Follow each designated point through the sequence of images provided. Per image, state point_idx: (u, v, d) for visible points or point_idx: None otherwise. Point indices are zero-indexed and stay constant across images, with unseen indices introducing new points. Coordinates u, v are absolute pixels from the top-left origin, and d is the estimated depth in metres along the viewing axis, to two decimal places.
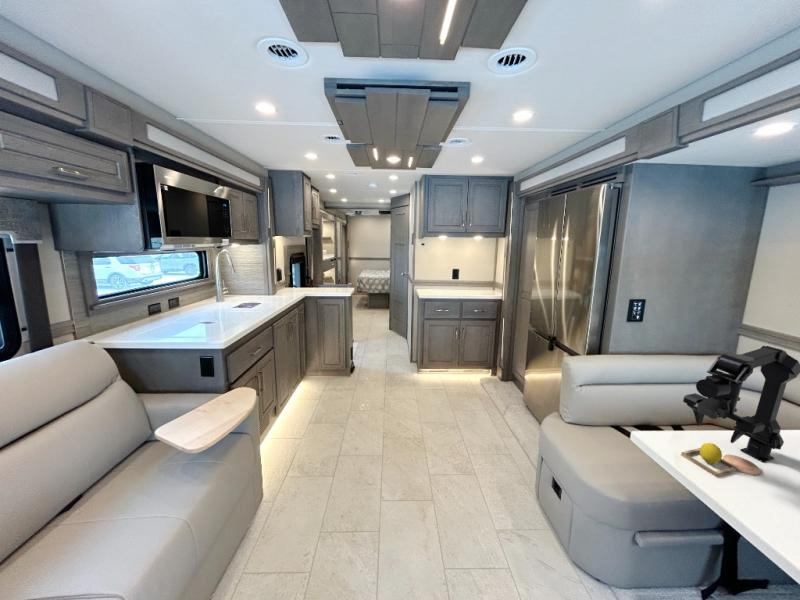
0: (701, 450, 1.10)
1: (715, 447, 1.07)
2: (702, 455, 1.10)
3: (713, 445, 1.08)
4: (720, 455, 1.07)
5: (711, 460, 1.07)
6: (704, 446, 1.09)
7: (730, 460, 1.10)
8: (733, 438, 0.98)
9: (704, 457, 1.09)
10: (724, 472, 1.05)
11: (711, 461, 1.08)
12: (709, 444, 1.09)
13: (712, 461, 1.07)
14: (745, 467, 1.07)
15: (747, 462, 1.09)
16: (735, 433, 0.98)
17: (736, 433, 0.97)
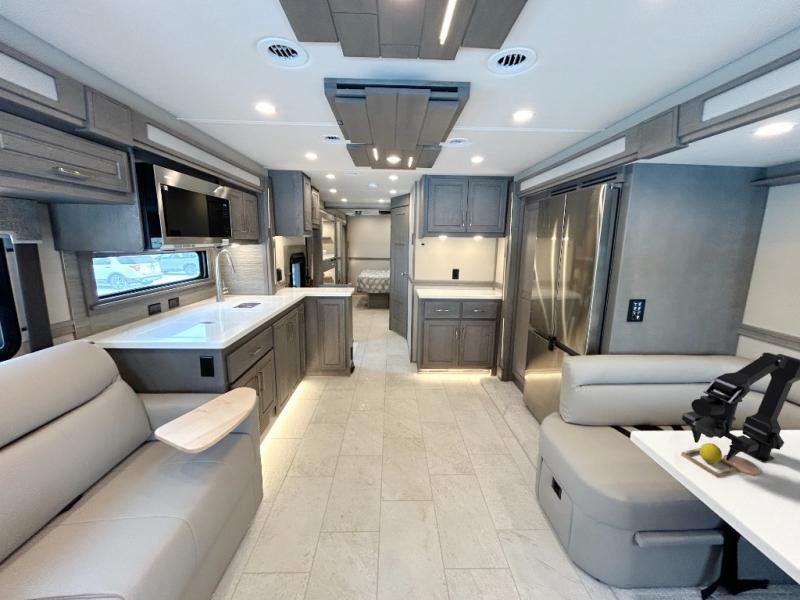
0: (701, 450, 1.10)
1: (715, 447, 1.07)
2: (702, 455, 1.10)
3: (713, 445, 1.08)
4: (720, 455, 1.07)
5: (712, 460, 1.07)
6: (704, 446, 1.09)
7: (730, 460, 1.10)
8: (729, 456, 1.04)
9: (704, 457, 1.09)
10: (724, 472, 1.05)
11: (711, 461, 1.08)
12: (709, 444, 1.09)
13: (712, 461, 1.07)
14: (745, 467, 1.07)
15: (747, 462, 1.09)
16: (731, 451, 1.03)
17: (732, 451, 1.03)
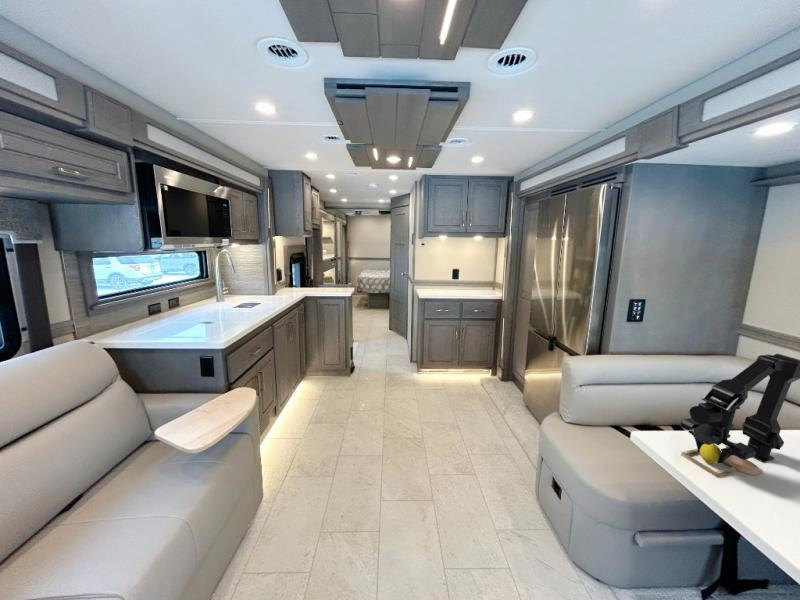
0: (701, 450, 1.10)
1: (715, 447, 1.07)
2: (702, 455, 1.10)
3: (713, 445, 1.08)
4: None
5: (711, 460, 1.07)
6: (704, 446, 1.09)
7: (730, 460, 1.10)
8: (720, 459, 1.06)
9: (704, 457, 1.09)
10: (724, 472, 1.05)
11: (711, 461, 1.08)
12: None
13: (712, 461, 1.07)
14: (745, 467, 1.07)
15: (747, 462, 1.09)
16: (722, 455, 1.05)
17: (723, 455, 1.05)
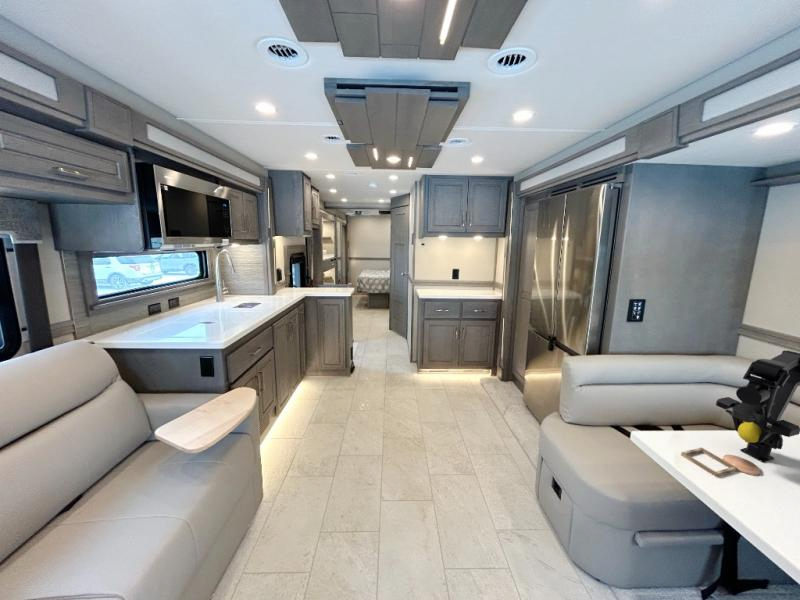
0: (740, 429, 1.07)
1: (755, 426, 1.04)
2: (741, 434, 1.06)
3: (753, 424, 1.05)
4: (760, 434, 1.04)
5: (751, 439, 1.04)
6: (743, 425, 1.06)
7: (730, 460, 1.10)
8: (761, 438, 1.03)
9: (743, 436, 1.06)
10: (724, 472, 1.05)
11: (751, 440, 1.05)
12: (748, 423, 1.06)
13: (752, 440, 1.04)
14: (745, 467, 1.07)
15: (747, 462, 1.09)
16: (763, 433, 1.02)
17: (764, 433, 1.02)
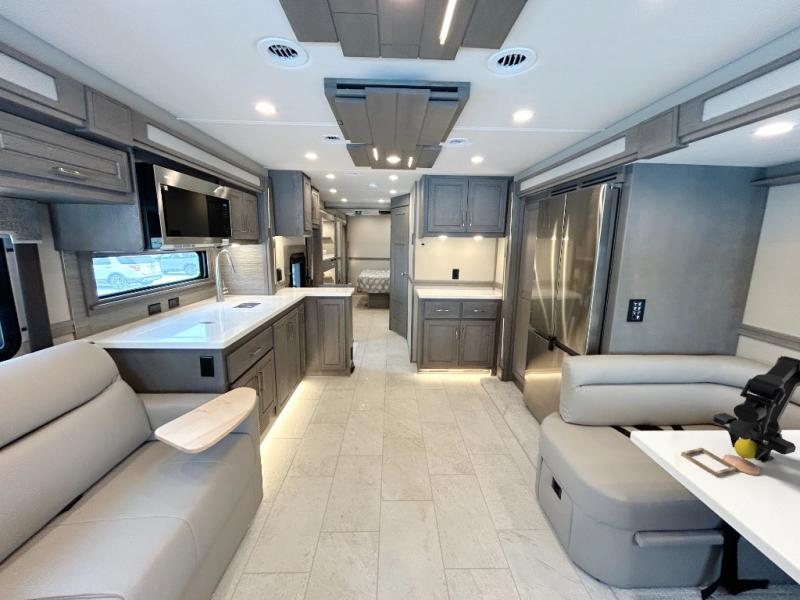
0: (736, 445, 1.08)
1: (751, 442, 1.06)
2: (737, 450, 1.08)
3: (749, 440, 1.06)
4: None
5: (748, 455, 1.06)
6: (739, 441, 1.08)
7: (730, 460, 1.10)
8: (757, 454, 1.04)
9: (740, 452, 1.07)
10: (724, 472, 1.05)
11: (747, 456, 1.06)
12: None
13: (748, 457, 1.06)
14: (745, 467, 1.07)
15: (747, 462, 1.09)
16: (759, 450, 1.03)
17: (760, 450, 1.03)
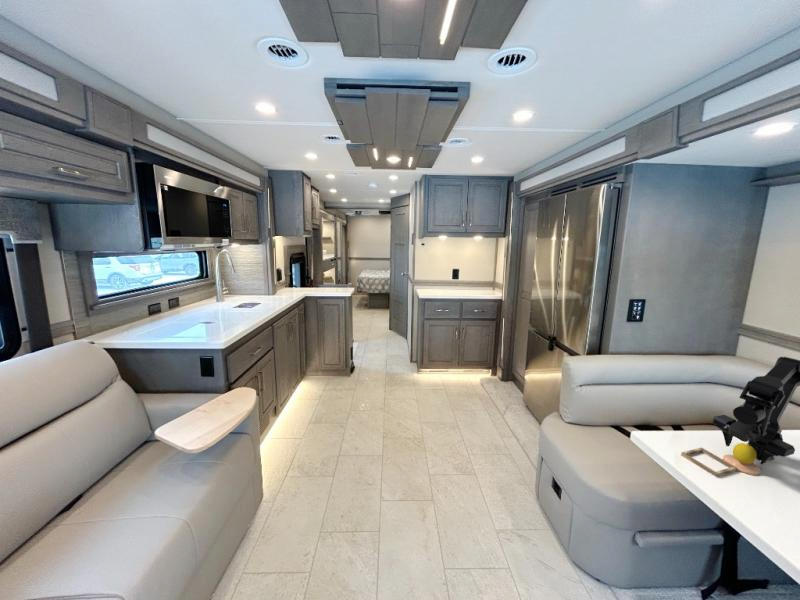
0: (734, 450, 1.09)
1: (749, 447, 1.06)
2: (736, 455, 1.08)
3: (747, 445, 1.07)
4: (755, 455, 1.05)
5: (746, 461, 1.06)
6: (738, 446, 1.08)
7: (730, 460, 1.10)
8: (763, 460, 1.03)
9: (738, 457, 1.08)
10: (724, 472, 1.05)
11: (745, 461, 1.06)
12: (743, 444, 1.08)
13: (746, 462, 1.06)
14: (745, 467, 1.07)
15: None
16: (765, 455, 1.02)
17: (767, 455, 1.02)
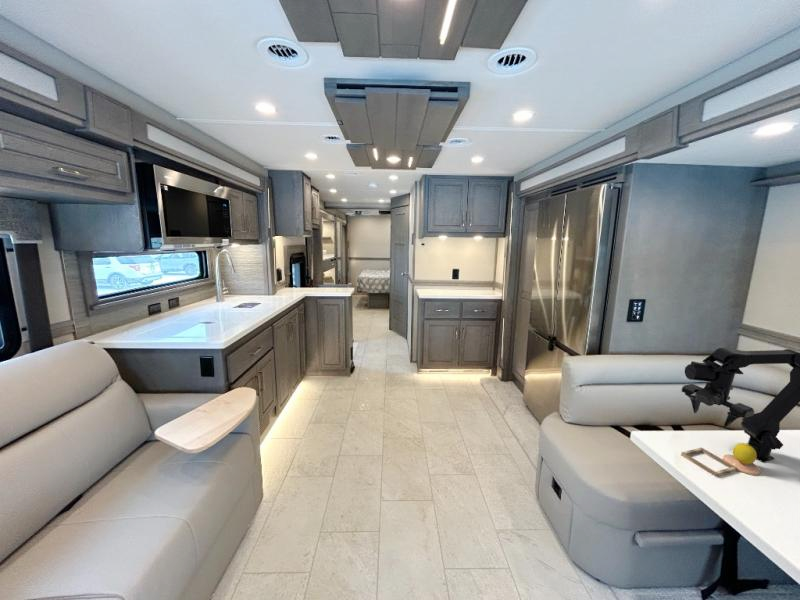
0: (734, 450, 1.09)
1: (749, 447, 1.06)
2: (736, 455, 1.08)
3: (747, 445, 1.07)
4: (755, 455, 1.05)
5: (746, 460, 1.06)
6: (738, 446, 1.08)
7: (730, 460, 1.10)
8: (726, 423, 1.10)
9: (738, 457, 1.08)
10: (724, 472, 1.05)
11: (745, 461, 1.06)
12: (743, 444, 1.08)
13: (746, 462, 1.06)
14: (745, 467, 1.07)
15: None
16: (728, 418, 1.09)
17: (729, 418, 1.09)
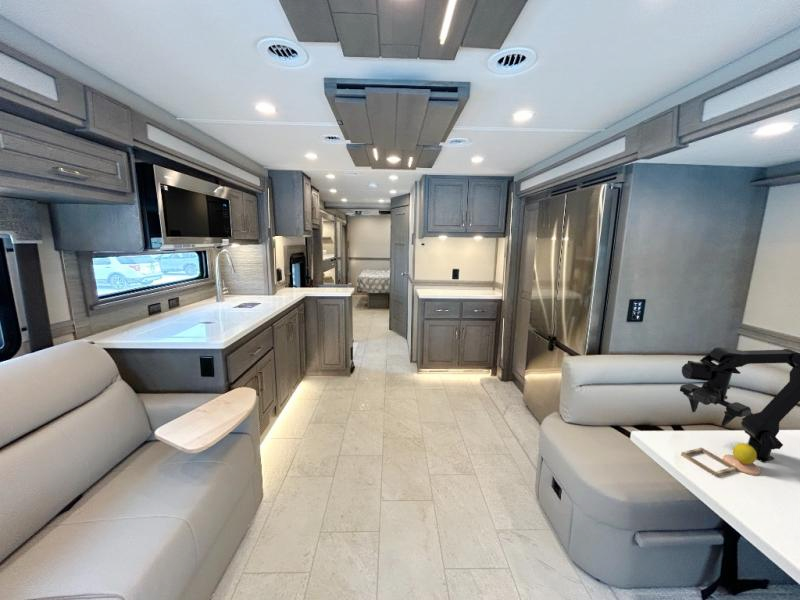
0: (735, 450, 1.09)
1: (750, 447, 1.06)
2: (736, 455, 1.08)
3: (747, 445, 1.07)
4: (755, 455, 1.05)
5: (746, 461, 1.06)
6: (738, 446, 1.08)
7: (730, 460, 1.10)
8: (724, 422, 1.11)
9: (738, 457, 1.08)
10: (724, 472, 1.05)
11: (745, 461, 1.06)
12: (743, 444, 1.08)
13: (746, 462, 1.06)
14: (745, 467, 1.07)
15: None
16: (725, 417, 1.10)
17: (726, 417, 1.10)
